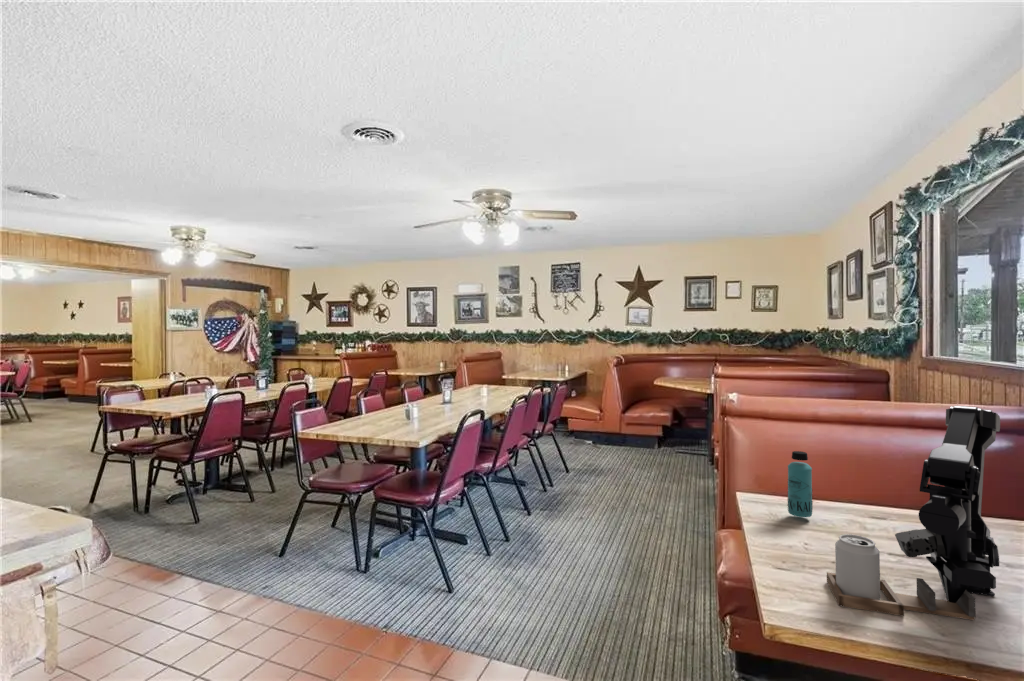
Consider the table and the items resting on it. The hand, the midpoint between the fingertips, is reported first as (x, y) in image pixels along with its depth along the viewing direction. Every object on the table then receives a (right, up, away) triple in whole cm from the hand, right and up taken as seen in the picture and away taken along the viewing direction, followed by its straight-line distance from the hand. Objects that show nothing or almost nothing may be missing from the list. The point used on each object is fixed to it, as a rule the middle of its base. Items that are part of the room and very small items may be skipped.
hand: (951, 601), depth 95 cm
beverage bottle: (0, -2, +50) cm, 50 cm away
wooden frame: (-8, -2, +3) cm, 9 cm away
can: (-14, -2, +6) cm, 15 cm away
